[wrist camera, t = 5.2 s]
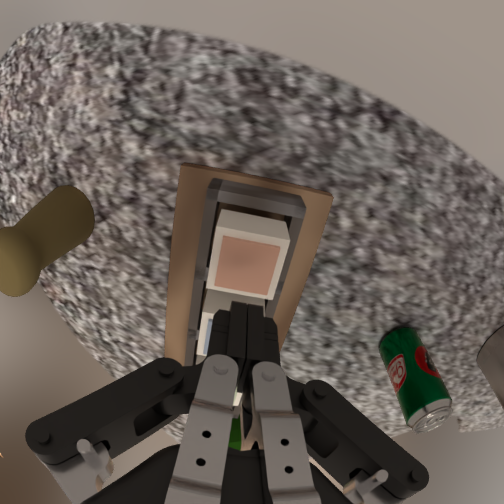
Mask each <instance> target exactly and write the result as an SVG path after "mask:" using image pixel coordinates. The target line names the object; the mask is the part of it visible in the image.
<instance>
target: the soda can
mask: <svg viewBox="0 0 504 504" xmlns="http://www.w3.org/2000/svg"><path fill="white" fill-rule="evenodd" d="M379 352H380V355H381V357H382V360H383V362H384V365H385V367H386V370H387V372H388V375H389V377H390V380H391V383H392V385H393V388H394V391H395V393H396V396H397V399H398V401H399V404H400V407H401V410H402V413H403V415H404V418H405V421H406V424H407V426H408V427H410V428H412V430H413V432H414V433H425V432H428V431H430V430H433V429H435V428H436V427H438V426H440V425H441V424H442V423H444V422H445V421H446V420H447V419H448V418H449V417H450V416H451V414H452V412H453V410H452V408H451V406H452V399H451V397H450V394H449V392H448V390H447V388H446V386H445V384H444V382H443V380H442V378H441V376H440V374H439V372H438V370H437V368H436V367H435V365H434V363H433V361H432V359H431V357H430V355H429V353H428V351H427V350H426V348H425V346H424V344H423V342H422V341H421V339H420V337H419V335H418V333H417V332H416V331H415V330H414V329H412V328H407V327H402V328H398V329H395V330H393V331H392V332H390V333H389V334H388V335H387V336H386V337H385V338H384V339H383V341H382V343H381V345H380V349H379Z"/></svg>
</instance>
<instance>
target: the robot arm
mask: <svg viewBox="0 0 504 504" xmlns="http://www.w3.org/2000/svg"><path fill="white" fill-rule="evenodd" d="M477 363H478V365H479V367H480V369H481V370H482V372H483V374H484V375H485V377H486V379H487V381H488V382H489V384H490V386H491V388H492V389H493V391H494V393H495V395H496V397H497V398H498V400H499V402H500V404H501V406H502V408H503V409H504V326H503V327H502V328H500V329H499V330H498V331H496V332H495V333H494V334H493V335H492V336H491V337H490V338H489V339H488V340H487V342H486V343H485V344H484V346H483V347H482V349H481V350H480V353H479V355H478V358H477ZM236 387H237V393H242V402H241V405H240V421H241V439H242V444H241V450H237V449H234V448H231V447H228V443H229V436H230V430H231V423H232V417H233V402H234V395H235V391H236ZM180 414H189V415H188V418H187V422H186V426H185V430H184V433H183V437H182V441H181V444H177V445H173V446H169V447H166V448H164V449H162V450H160V451H158V452H157V453H155V454H154V455H152V456H151V457H149V458H148V459H147V460H145V461H144V462H142V463H141V464H140V465H138V466H137V467H135V468H134V469H132V470H131V471H130V472H128V473H127V474H125V475H124V476H122V477H121V478H119V479H118V480H116V481H115V482H113V483H112V484H110V485H108V486H107V487H105V488H104V489H102V486H103V483H104V482H105V481H106V480H107V479H108V478H109V477H110V476H111V475H112V473H113V470H114V465H113V461H112V459H113V458H115V457H116V456H118V455H120V454H121V453H123V452H125V451H126V450H128V449H130V448H131V447H133V446H134V445H136V444H138V443H139V442H141V441H142V440H144V439H145V438H147V437H149V436H150V435H152V434H153V433H155V432H156V431H158V430H159V429H161V428H162V427H164V426H165V425H167V424H168V423H170V422H171V421H173V420H174V419H176V418H177V417H178V416H179V415H180ZM25 437H26V442H27V444H28V446H29V447H30V448H31V450H32V451H33V452H34V453H35V455H36V456H37V458H38V459H39V460H40V461H41V462H42V463H43V464H44V465H45V466H46V467H47V468H48V469H49V470H50V472H51V473H52V475H53V476H54V478H55V479H56V481H57V482H58V484H59V485H60V487H61V488H62V490H63V491H64V493H65V494H66V495H67V497H68V498H69V499H70V501H71V502H72V503H73V504H401V503H402V502H403V501H404V500H405V499H407V498H409V497H411V496H412V495H414V494H416V493H417V492H419V491H421V490H422V489H423V488H425V487H426V485H427V484H428V481H429V474H428V471H427V469H426V468H425V466H424V465H422V464H421V463H420V462H419V461H417V460H416V459H415V458H414V457H413V456H411V455H410V454H409V453H407V451H405V450H404V449H403V448H402V447H401V446H399V445H398V444H397V443H396V442H395V441H393V440H392V439H391V438H390V437H389V436H388V435H386V434H385V433H384V432H383V431H382V430H381V429H379V428H378V427H377V426H376V425H375V424H374V423H372V422H371V421H370V420H369V419H368V418H367V417H366V416H364V415H363V414H362V413H361V412H360V411H359V410H358V409H356V408H355V407H354V406H353V405H352V404H351V403H350V402H349V401H347V400H346V399H345V398H344V397H343V396H342V395H341V394H340V393H339V392H337V391H336V390H335V389H334V388H333V387H332V386H331V385H330V384H328V383H327V382H324V381H322V380H311V381H309V382H307V383H306V385H305V384H303V383H300V382H297V381H295V380H292V379H291V378H289V377H288V376H286V374H285V372H284V370H283V369H282V368H281V365H280V352H279V342H278V329H277V325H276V323H275V322H274V320H273V318H269V317H264V308H263V306H261V305H255V304H249V303H248V304H247V303H243V302H237V301H232V302H231V306H230V311H227V310H221V309H219V310H218V311H217V312H216V313H215V314H214V316H213V321H212V327H211V333H210V339H209V345H208V351H207V356H206V358H205V359H204V360H203V361H202V362H201V363H199V364H197V365H193V366H182V365H181V364H180V363H179V362H178V361H176V360H174V359H172V358H167V357H163V358H158V359H156V360H154V361H152V362H150V363H148V364H146V365H144V366H143V367H141V368H139V369H137V370H135V371H133V372H131V373H129V374H128V375H126V376H124V377H122V378H120V379H118V380H116V381H114V382H112V383H111V384H109V385H107V386H105V387H103V388H101V389H99V390H97V391H95V392H93V393H91V394H89V395H87V396H85V397H83V398H81V399H79V400H77V401H75V402H73V403H71V404H69V405H67V406H65V407H63V408H61V409H59V410H57V411H55V412H53V413H50V414H48V415H46V416H44V417H42V418H40V419H38V420H36V421H34V422H32V423H31V424H30V425H29V426H28V428H27V430H26V435H25ZM308 454H309V455H310V456H311V457H312V458H313V459H314V460H315V461H316V462H317V463H318V464H319V465H321V467H322V468H324V469H325V470H326V471H327V472H328V473H329V474H330V475H331V476H332V477H333V478H334V479H335V480H336V481H337V482H338V483H340V484H341V485H342V486H343V493H342V492H341V491H340V490H339V489H338V488H337V487H335V485H334V484H333V483H332V482H331V481H330V480H329V479H328V478H327V477H326V476H325V475H324V474H323V473H322V472H321V471H320V470H319V469H318V468H317V467H316V466H315V465H313V464H312V463H310V462H309V459H308Z"/></svg>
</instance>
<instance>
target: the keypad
mask: <svg viewBox="0 0 504 504" xmlns="http://www.w3.org/2000/svg"><path fill="white" fill-rule="evenodd" d="M333 198H334V197H333V196H332V194H331V193H328V192H324V191H320V190H316V189H312V188H308V187H304V186H300V185H296V184H291V183H287V182H282V181H278V180H273V179H269V178H264V177H259V176H255V175H250V174H245V173H240V172H234V171H229V170H224V169H219V168H213V167H207V166H202V165H196V164H190V163H183V164H182V165H181V168H180V175H179V183H178V190H177V198H176V206H175V214H174V223H173V232H172V242H171V253H170V264H169V277H168V291H167V308H166V328H165V357H167V358H172V359H174V360H176V361H178V362H179V363H180V364H181V365H182V366H193V365H196V360H197V355H198V354H197V347H198V340H199V333H200V326H201V319H202V312H203V307H204V303H205V299H206V294H207V290H208V288H206V285H207V279H208V273H209V267H210V260H211V254H212V248H213V243H214V237H215V231H216V226H217V222H218V219H219V216H220V213H221V209H224V210H230V211H235V212H240V213H245V214H250V215H255V216H260V217H265V218H270V219H274V220H279V221H284V222H286V225H287V229H288V233H289V237H290V244H289V247H288V250H287V254H286V257H285V261H284V264H283V267H282V271H281V274H280V277H279V281H278V284H277V287H276V290H275V294H274V297H273V300H268V299H265V317H269V318H273V320H274V322H275V323H276V325H277V329H278V342H279V352H280V350H281V348H282V345H283V343H284V340H285V337H286V335H287V332H288V330H289V327H290V324H291V322H292V319H293V316H294V314H295V311H296V308H297V306H298V303H299V300H300V297H301V295H302V292H303V289H304V286H305V283H306V281H307V278H308V275H309V272H310V269H311V266H312V263H313V260H314V257H315V254H316V251H317V248H318V245H319V242H320V239H321V236H322V233H323V230H324V227H325V224H326V221H327V218H328V215H329V211H330V208H331V205H332V202H333ZM241 402H242V396H241V399H240V402H239V405H238V406H233V417H232V418H236V419H238V417H239V414H240V405H241Z"/></svg>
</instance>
